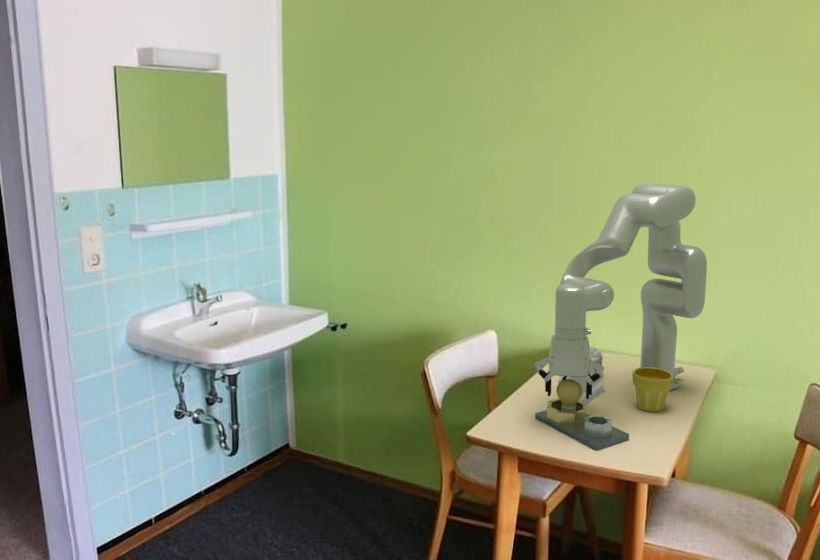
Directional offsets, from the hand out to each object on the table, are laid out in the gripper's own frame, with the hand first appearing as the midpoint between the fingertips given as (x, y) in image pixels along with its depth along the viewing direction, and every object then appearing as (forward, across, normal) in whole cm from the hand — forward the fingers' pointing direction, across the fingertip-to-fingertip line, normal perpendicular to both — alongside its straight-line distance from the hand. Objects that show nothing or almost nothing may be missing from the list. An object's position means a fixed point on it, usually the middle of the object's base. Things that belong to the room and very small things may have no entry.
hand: (568, 395), depth 180 cm
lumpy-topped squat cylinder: (+8, -4, -35) cm, 36 cm away
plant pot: (+8, -22, -14) cm, 27 cm away
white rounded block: (+8, -3, -18) cm, 20 cm away
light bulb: (+6, 0, 0) cm, 6 cm away
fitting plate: (+7, -3, +4) cm, 9 cm away
